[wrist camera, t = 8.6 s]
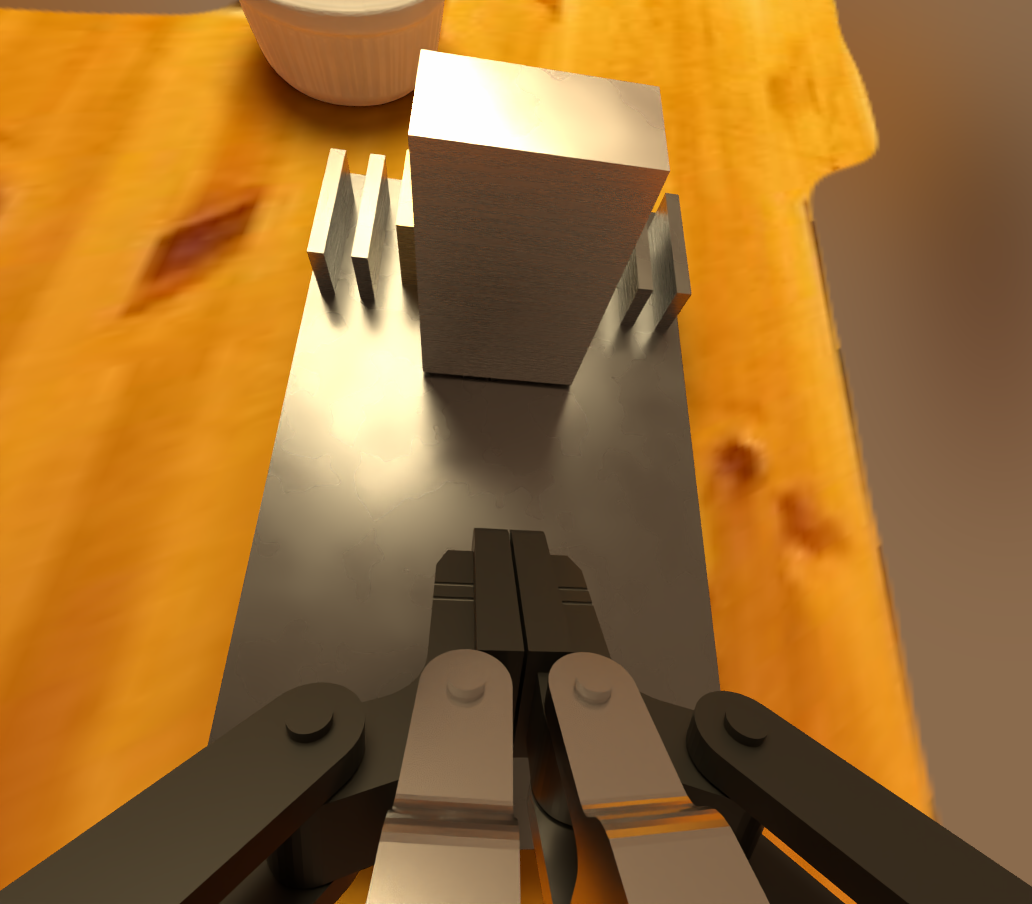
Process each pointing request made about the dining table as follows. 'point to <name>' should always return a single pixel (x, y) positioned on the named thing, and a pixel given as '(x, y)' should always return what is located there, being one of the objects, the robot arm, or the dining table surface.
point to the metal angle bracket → (525, 210)
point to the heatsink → (465, 474)
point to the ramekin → (346, 45)
